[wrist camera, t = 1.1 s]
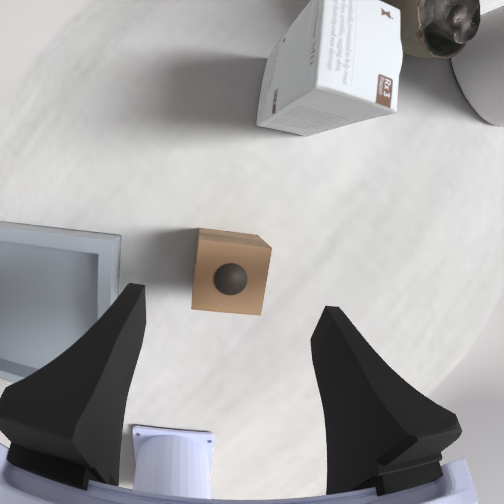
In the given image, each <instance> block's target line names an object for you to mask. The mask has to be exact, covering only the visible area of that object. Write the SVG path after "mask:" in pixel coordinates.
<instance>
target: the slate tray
mask: <svg viewBox="0 0 504 504" xmlns="http://www.w3.org/2000/svg"><path fill="white" fill-rule="evenodd" d="M120 247H121V235H116V234H107V233H98V232H90V231H81V230H73V229H64V228H55V227H47V226H38V225H29V224H21V223H12V222H3V221H0V379H3V380H6V381H9V382H13V383H16V382H18V381H20V380H22V379H24V378H26V377H27V376H29V375H31V374H33V373H34V372H36V371H37V370H39V369H40V368H42V367H43V366H45V365H47V364H48V363H49V362H51V361H52V360H54V359H55V358H56V357H58V356H59V355H60V354H62V353H63V352H64V351H65V350H67V349H68V348H69V347H70V346H71V345H73V344H74V343H75V342H76V341H77V340H78V339H79V338H80V337H81V336H83V335H84V334H85V333H86V332H87V331H88V330H89V329H90V328H91V327H92V326H93V325H94V323H95V322H96V321H97V320H98V319H99V318H100V317H101V316H102V315H103V314H104V313H105V312H106V310H107V309H108V308H109V307H110V306H111V305H112V304H113V302H114V301H115V300H116V299H117V297H118V287H119V263H120Z"/></svg>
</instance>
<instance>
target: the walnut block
mask: <svg viewBox="0 0 504 504" xmlns="http://www.w3.org/2000/svg"><path fill="white" fill-rule="evenodd" d="M271 251H272V248H271V247H270V246H269V245H268V244H267V243H266V242H265V241H264V240H263V239H261V238H260V237H259V236H258V235H252V234H245V233H237V232H229V231H220V230H212V229H204V228H199V234H198V242H197V250H196V259H195V267H194V277H193V287H192V307H191V309H194V310H204V311H214V312H225V313H236V314H249V315H261V311H262V305H263V299H264V293H265V287H266V281H267V275H268V269H269V263H270V257H271Z"/></svg>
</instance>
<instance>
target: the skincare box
mask: <svg viewBox="0 0 504 504" xmlns="http://www.w3.org/2000/svg"><path fill="white" fill-rule="evenodd" d="M402 56H403V52H402V44H401V40H400V10H399V9H397V8H395V7H393V6H391V5H389V4H386V3H384V2H382V1H379V0H310V1H309V2H308V4H307V5H306V6H305V8H304V9H303V10H302V11H301V13H300V14H299V15H298V17H297V18H296V19H295V21H294V22H293V23H292V25H291V26H290V27H289V29H288V30H287V32H286V33H285V35H284V36H283V37H282V39H281V40H280V41H279V43H278V44H277V46H276V47H275V48H274V50H273V51H272V53H271V54H270V56H269V57H268V60H267V63H266V67H265V71H264V75H263V80H262V85H261V91H260V97H259V104H258V112H257V122H256V123H257V126H261V127H266V128H271V129H276V130H281V131H286V132H290V133H295V134H299V135H303V136H310V135H313V134H317V133H320V132H323V131H327V130H331V129H334V128H338V127H341V126H345V125H348V124H352V123H356V122H360V121H363V120H367V119H372V118H375V117H379V116H384V115H389V114H394V113H396V111H397V98H398V83H399V73H400V70H401V66H402Z"/></svg>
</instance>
